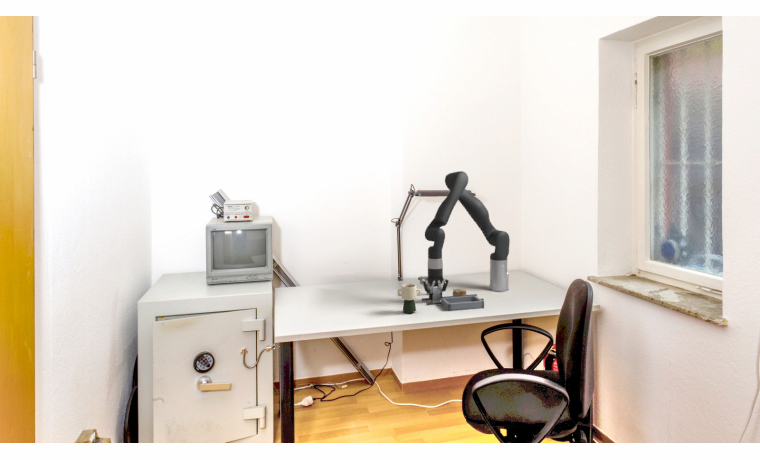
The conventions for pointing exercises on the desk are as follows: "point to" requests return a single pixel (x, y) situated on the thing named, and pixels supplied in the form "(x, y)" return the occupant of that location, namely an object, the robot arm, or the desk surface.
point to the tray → (462, 303)
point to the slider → (459, 292)
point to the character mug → (409, 297)
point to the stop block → (436, 295)
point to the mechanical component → (422, 280)
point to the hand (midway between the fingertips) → (435, 299)
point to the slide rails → (443, 297)
